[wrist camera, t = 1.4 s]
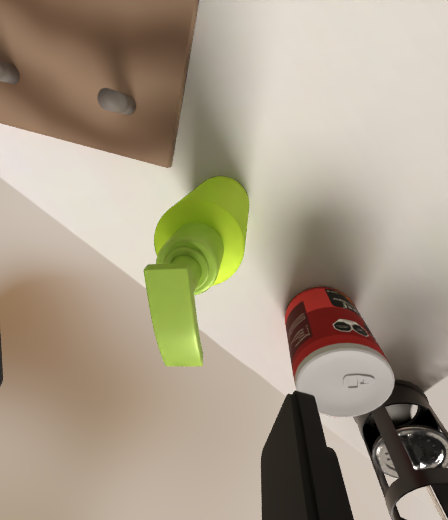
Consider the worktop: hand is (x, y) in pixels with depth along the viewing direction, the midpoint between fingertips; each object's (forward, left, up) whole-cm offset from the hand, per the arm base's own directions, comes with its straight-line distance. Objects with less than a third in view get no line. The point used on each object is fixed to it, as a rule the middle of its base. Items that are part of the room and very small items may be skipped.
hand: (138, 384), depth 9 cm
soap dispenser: (0, 0, -24) cm, 24 cm away
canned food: (+9, +14, -24) cm, 29 cm away
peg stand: (-13, -16, -24) cm, 32 cm away
